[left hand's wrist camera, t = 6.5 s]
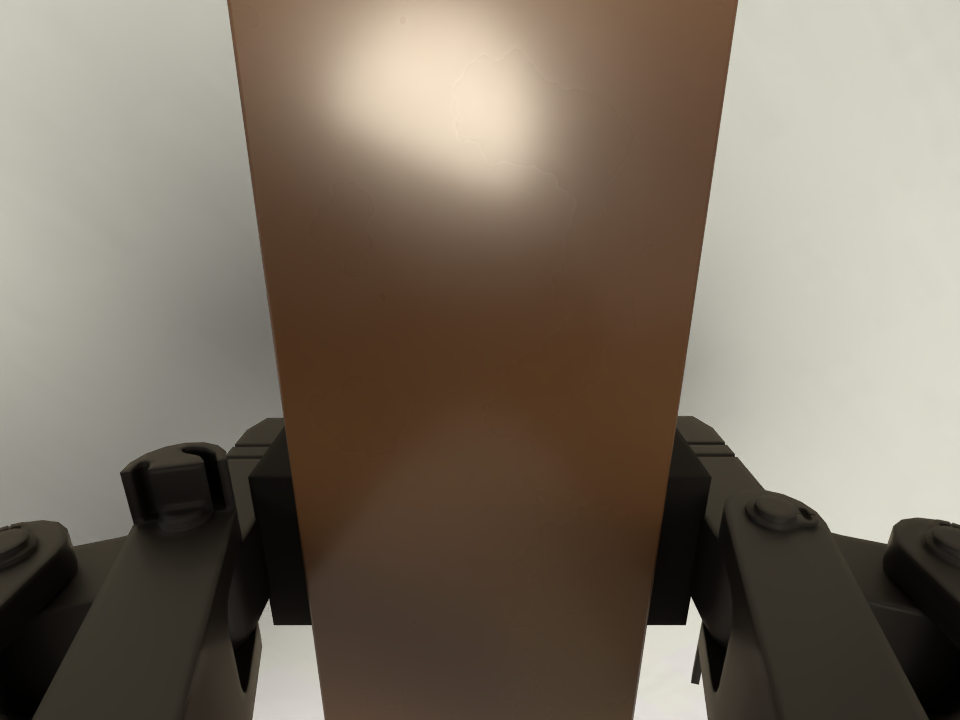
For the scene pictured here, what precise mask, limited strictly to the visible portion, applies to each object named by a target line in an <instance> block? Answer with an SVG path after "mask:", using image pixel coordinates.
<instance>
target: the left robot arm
mask: <svg viewBox="0 0 960 720" xmlns="http://www.w3.org/2000/svg"><path fill="white" fill-rule="evenodd" d="M120 475H121V479H122V482H123V486H124V490H125V493H126V497H127V501H128V504H129V508H130V512H131V515H132V519H133V523H134V525H133V527H132V529H131V531H130V533H129V534H128V535H127V536H123V537H120V538H115V539H110V540H105V541H100V542H94V543H89V544H84V545H79V546H74V547H73V546H72V543H71V539H70V536H69V533H68V530H67V528H65V527H64V526H63V525H61V524H60V523H59V522H52V521H45V520H41V521H32V522H21V523H17V524H12V525H11V526H9V527H8V526H5V527H2V528H0V720H252V717H253V710H254V703H255V695H256V688H257V680H258V673H259V665H260V658H261V650H262V642H261V635H260V629H259V624H258V621H259V618H260V616H261V614H262V612H263V610H264V608H265V606H266V604H267V601H268V599H269V600H270V606H271V611H272V617H273V623H274V625H312V622H311V614H310V607H309V599H308V592H307V585H306V577H305V570H304V563H303V555H302V548H301V541H300V533H299V526H298V518H297V511H296V504H295V496H294V489H293V482H292V474H291V467H290V460H289V452H288V445H287V437H286V430H285V423H284V418H267V419H265V420H263V421H262V422H260V423H258V424H257V425H255V426H253V427H252V428H250V429H248V430H247V431H246V432H245V433H244V434H243V436H242V437H241V438H240V439H239V440H238V442H237V443H236V444H235V447H233V448H232V449H231V450H230V451H229V452H228V454H227V455H226V451H225V450H223V449H222V448H221V447H219V446H218V445H214V444H209V443H204V442H199V443H183V444H177V445H172V446H167V447H164V448H161V449H158V450H155V451H152V452H150V453H147V454H145V455H143V456H141V457H140V458H138V459H136V460H134V461H132V462H131V463H130V464H128V465H127V466H126V467H125V468H124V469H123V470H122V471H121V472H120ZM691 597H692V599H693V601H694V603H695V606H696V608H697V610H698V612H699V614H700V616H701V618H702V624H701V629H700V635H699V640H698V645H697V651H696V656H695V661H694V666H693V672H692V680H691V683H694V684H698V685H699V681H700V676H701V672H702V679H703V686H704V694H705V701H706V709H707V716H708V720H960V525H958V524H955V523H952V524H951V523H950V522H947V521H943V520H934V519H925V518H911V519H903V520H901V521H899V522H898V523H897V524H895V525H894V526H893V529H892V532H891V535H890V538H889V541H888V544H884V543H879V542H874V541H868V540H863V539H858V538H853V537H848V536H843V535H839V534H835V533H831V532H830V530H829V528H828V526H827V524H826V523H825V521H824V520H823V519H822V518H821V517H820V515H819V514H818V513H817V512H816V511H814V510H813V509H811V508H810V507H808V506H807V505H805V504H804V503H802V502H800V501H798V500H796V499H793V498H791V497H788V496H786V495H784V494H780V493H775V492H771V491H766V490H765V489H764V488H763V487H762V486H761V485H760V484H759V482H758V481H757V480H756V479H755V478H754V476H753V475H752V474H751V473H750V472H749V470H748V469H747V468H746V467H745V466H744V465H743V463H742V462H741V461H740V460H739V459H738V457H735V454H734V453H733V451H732V450H731V449H730V448H729V447H728V445H725V442H724V441H723V440H722V438H721V437H720V436H719V435H718V434H717V432H716V431H715V430H714V429H713V428H712V427H710V426H708V425H707V424H705V423H703V422H702V421H700V420H698V419H697V418H695V417H693V416H677V423H676V429H675V436H674V443H673V450H672V457H671V464H670V471H669V477H668V484H667V491H666V498H665V505H664V512H663V518H662V525H661V532H660V539H659V546H658V553H657V560H656V566H655V573H654V580H653V587H652V594H651V601H650V607H649V614H648V621H647V625H686V621H687V615H688V609H689V604H690V598H691Z"/></svg>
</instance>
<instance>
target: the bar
mask: <svg viewBox="0 0 960 720" xmlns="http://www.w3.org/2000/svg"><path fill="white" fill-rule="evenodd" d="M227 3H228V11H229V18H230V25H231V33H232V40H233V47H234V55H235V62H236V69H237V77H238V84H239V91H240V99H241V106H242V114H243V121H244V128H245V136H246V143H247V150H248V158H249V165H250V172H251V180H252V187H253V195H254V202H255V209H256V217H257V224H258V231H259V239H260V246H261V253H262V261H263V268H264V276H265V283H266V290H267V298H268V305H269V312H270V320H271V327H272V334H273V342H274V349H275V356H276V364H277V371H278V379H279V386H280V393H281V401H282V408H283V415H284V423H285V430H286V437H287V445H288V452H289V460H290V467H291V474H292V482H293V489H294V496H295V504H296V511H297V518H298V526H299V533H300V541H301V548H302V555H303V563H304V570H305V577H306V585H307V592H308V599H309V607H310V614H311V622H312V629H313V636H314V644H315V651H316V658H317V666H318V673H319V680H320V688H321V695H322V702H323V710H324V717H325V720H633V717H634V710H635V703H636V697H637V690H638V683H639V676H640V669H641V662H642V655H643V649H644V642H645V635H646V628H647V621H648V614H649V607H650V601H651V594H652V587H653V580H654V573H655V566H656V560H657V553H658V546H659V539H660V532H661V525H662V518H663V512H664V505H665V498H666V491H667V484H668V477H669V471H670V464H671V457H672V450H673V443H674V436H675V429H676V423H677V416H678V409H679V402H680V395H681V388H682V381H683V375H684V368H685V361H686V354H687V347H688V340H689V334H690V327H691V320H692V313H693V306H694V299H695V292H696V286H697V279H698V272H699V265H700V258H701V251H702V245H703V238H704V231H705V224H706V217H707V210H708V203H709V197H710V190H711V183H712V176H713V169H714V162H715V156H716V149H717V142H718V135H719V128H720V121H721V114H722V108H723V101H724V94H725V87H726V80H727V73H728V66H729V60H730V53H731V46H732V39H733V32H734V25H735V19H736V12H737V5H738V0H227Z"/></svg>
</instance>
